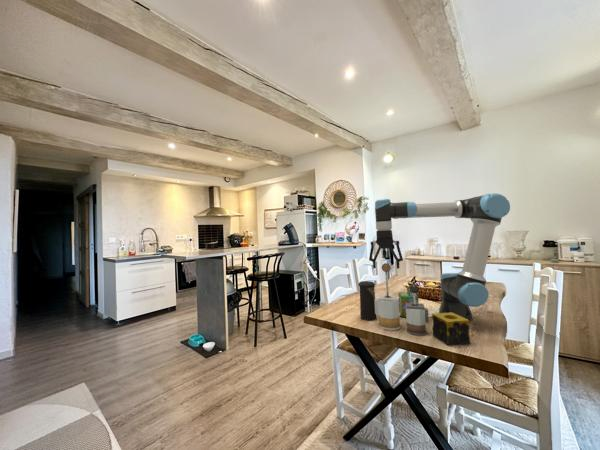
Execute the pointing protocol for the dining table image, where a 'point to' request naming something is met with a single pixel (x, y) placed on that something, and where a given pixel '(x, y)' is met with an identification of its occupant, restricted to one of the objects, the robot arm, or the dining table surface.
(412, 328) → the press small
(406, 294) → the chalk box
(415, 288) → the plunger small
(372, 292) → the container
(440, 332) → the dark box with hole
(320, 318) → the dining table surface
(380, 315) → the press large
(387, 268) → the plunger large
